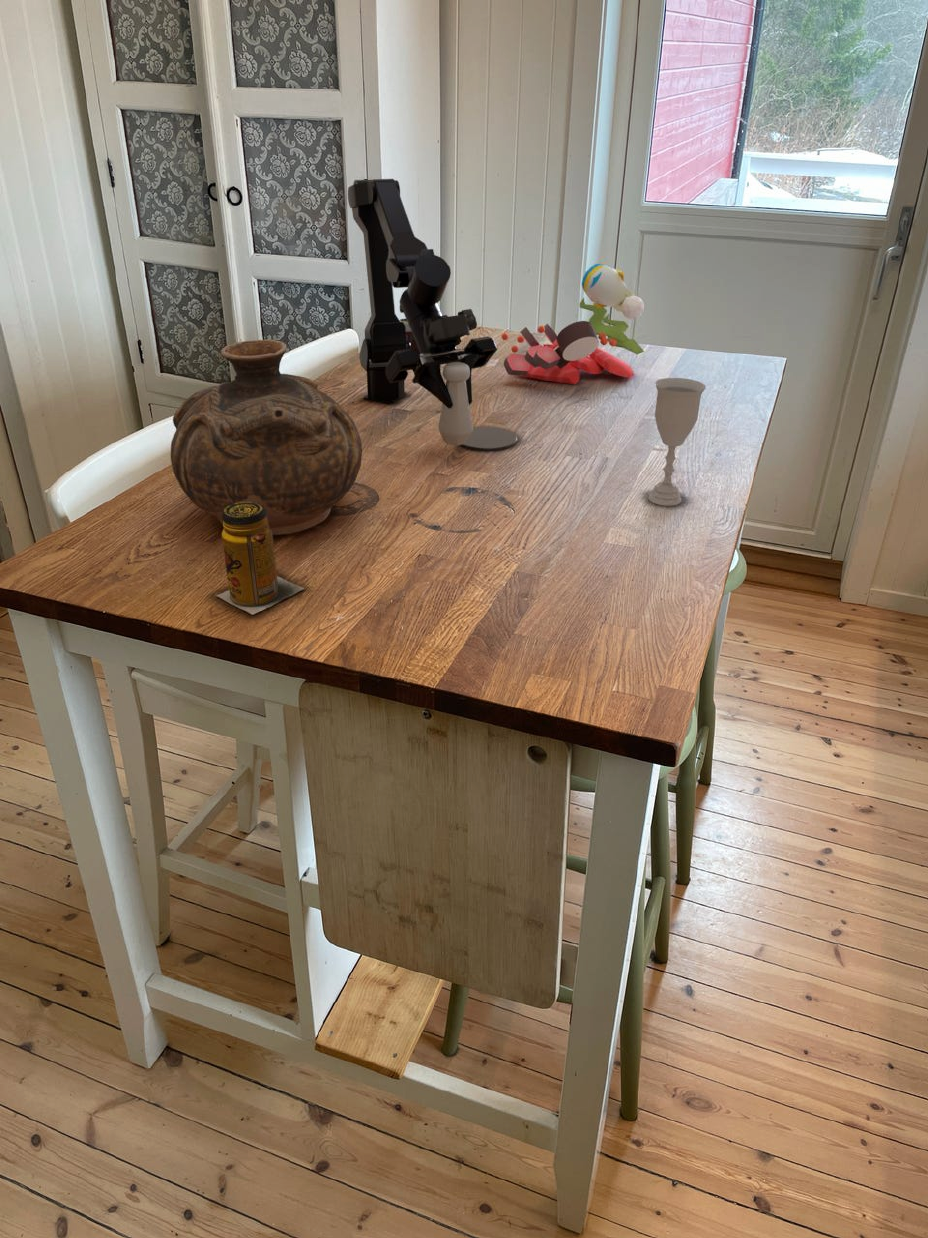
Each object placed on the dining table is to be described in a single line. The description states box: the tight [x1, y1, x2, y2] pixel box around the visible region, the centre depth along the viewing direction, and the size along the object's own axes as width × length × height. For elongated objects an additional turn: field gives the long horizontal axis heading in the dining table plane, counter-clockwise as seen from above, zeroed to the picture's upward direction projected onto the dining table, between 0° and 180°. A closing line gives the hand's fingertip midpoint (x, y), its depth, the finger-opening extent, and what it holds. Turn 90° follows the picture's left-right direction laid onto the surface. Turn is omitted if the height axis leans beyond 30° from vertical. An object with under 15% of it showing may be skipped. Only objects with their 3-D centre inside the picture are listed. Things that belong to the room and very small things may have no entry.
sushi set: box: [501, 263, 645, 385], centre depth 195 cm, size 29×30×24 cm
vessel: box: [170, 339, 363, 536], centre depth 133 cm, size 27×28×25 cm
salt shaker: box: [438, 362, 474, 447], centre depth 154 cm, size 6×6×13 cm
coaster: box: [460, 425, 518, 452], centre depth 167 cm, size 11×11×1 cm
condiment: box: [215, 502, 306, 616], centre depth 116 cm, size 7×8×12 cm
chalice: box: [648, 377, 707, 507], centre depth 141 cm, size 7×7×18 cm
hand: (460, 405), depth 153 cm, fingers closed on salt shaker, 3 cm apart
